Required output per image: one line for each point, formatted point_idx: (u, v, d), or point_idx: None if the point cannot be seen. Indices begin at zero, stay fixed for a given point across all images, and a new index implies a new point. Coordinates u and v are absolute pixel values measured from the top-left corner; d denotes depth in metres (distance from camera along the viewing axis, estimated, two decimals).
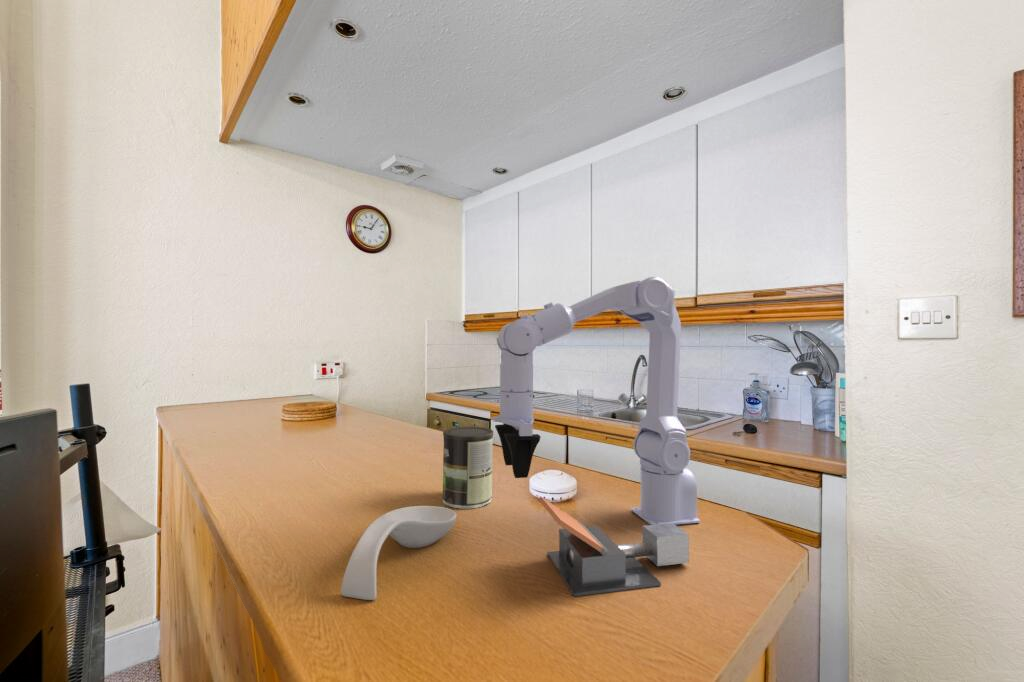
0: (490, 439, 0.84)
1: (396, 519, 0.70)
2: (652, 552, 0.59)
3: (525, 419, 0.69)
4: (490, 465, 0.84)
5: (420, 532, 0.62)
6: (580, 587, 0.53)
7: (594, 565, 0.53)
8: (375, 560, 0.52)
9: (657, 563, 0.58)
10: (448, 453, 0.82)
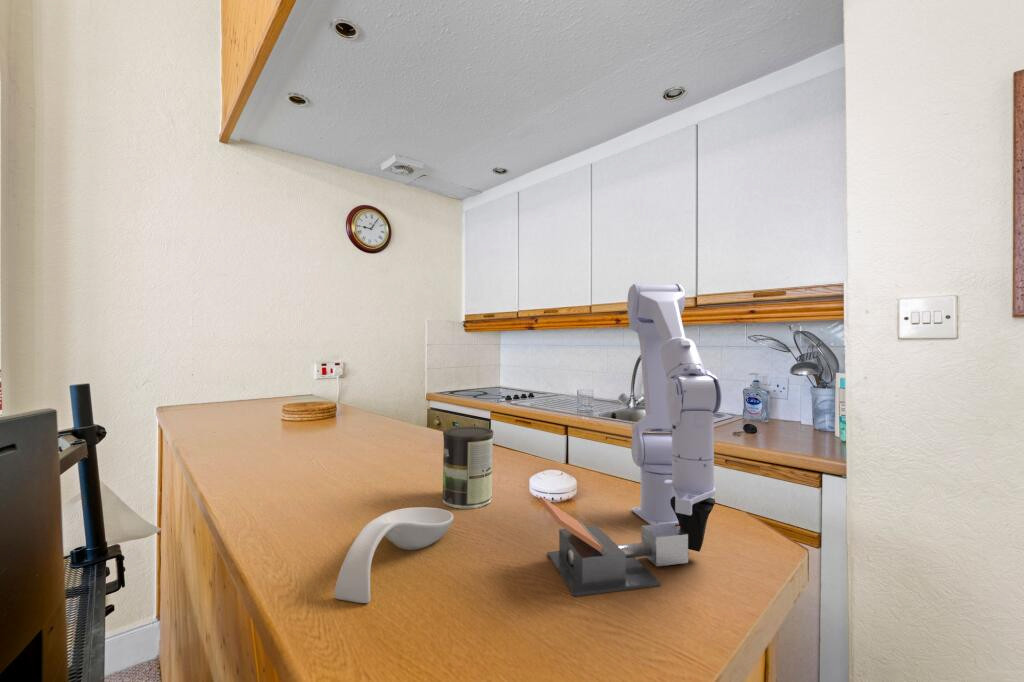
0: (490, 439, 0.84)
1: (393, 520, 0.69)
2: (651, 552, 0.59)
3: (696, 492, 0.59)
4: (490, 465, 0.84)
5: (416, 534, 0.61)
6: (580, 587, 0.53)
7: (594, 565, 0.53)
8: (369, 563, 0.51)
9: (656, 563, 0.58)
10: (448, 453, 0.82)
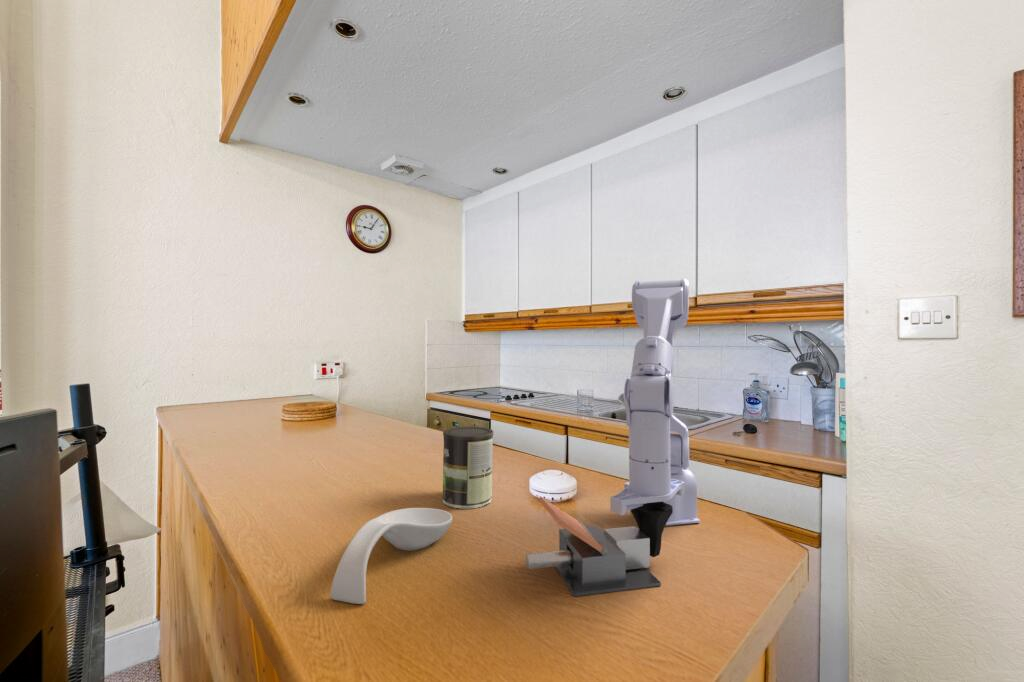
0: (490, 439, 0.84)
1: (392, 521, 0.69)
2: None
3: (642, 494, 0.58)
4: (490, 465, 0.84)
5: (414, 535, 0.61)
6: (580, 587, 0.53)
7: (594, 565, 0.53)
8: (365, 563, 0.51)
9: None
10: (448, 453, 0.82)
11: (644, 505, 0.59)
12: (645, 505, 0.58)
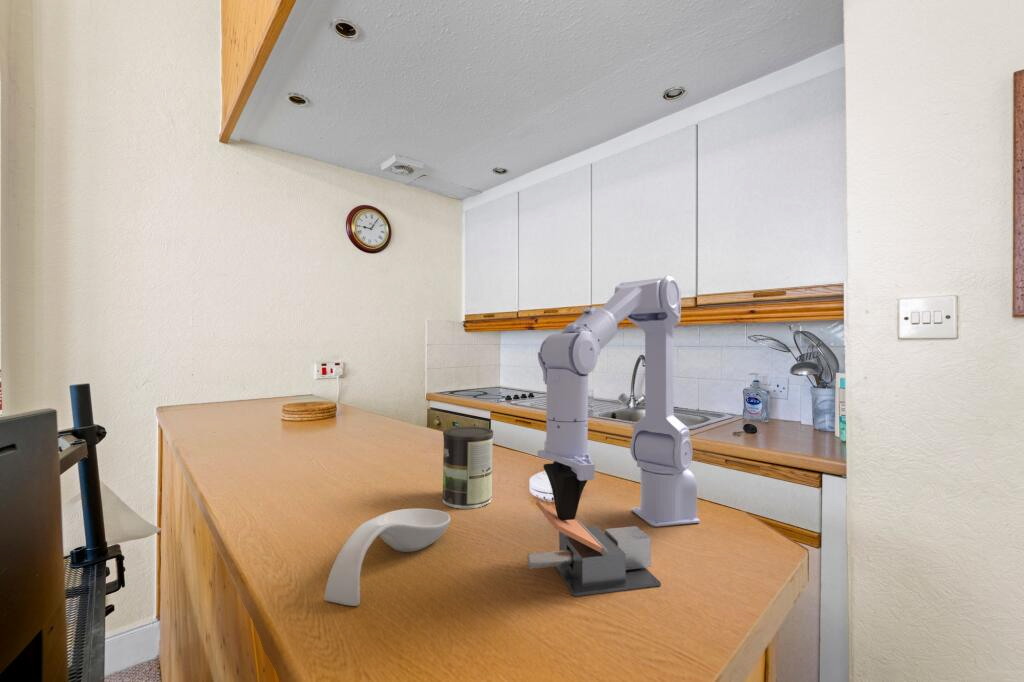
0: (490, 439, 0.84)
1: (390, 522, 0.68)
2: None
3: (580, 455, 0.55)
4: (490, 465, 0.84)
5: (411, 536, 0.60)
6: (580, 587, 0.53)
7: (594, 565, 0.53)
8: (359, 565, 0.50)
9: None
10: (448, 453, 0.82)
11: None
12: None
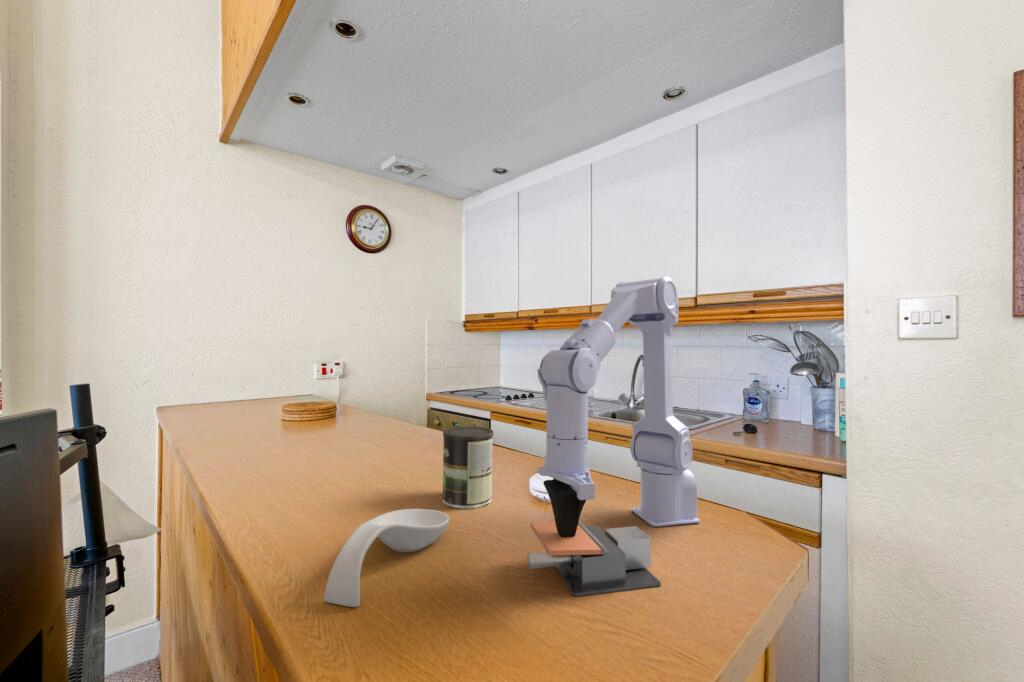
0: (490, 439, 0.84)
1: (388, 522, 0.68)
2: None
3: (580, 473, 0.55)
4: (490, 465, 0.84)
5: (410, 537, 0.60)
6: (580, 587, 0.53)
7: (594, 565, 0.53)
8: (359, 566, 0.50)
9: None
10: (448, 453, 0.82)
11: None
12: None
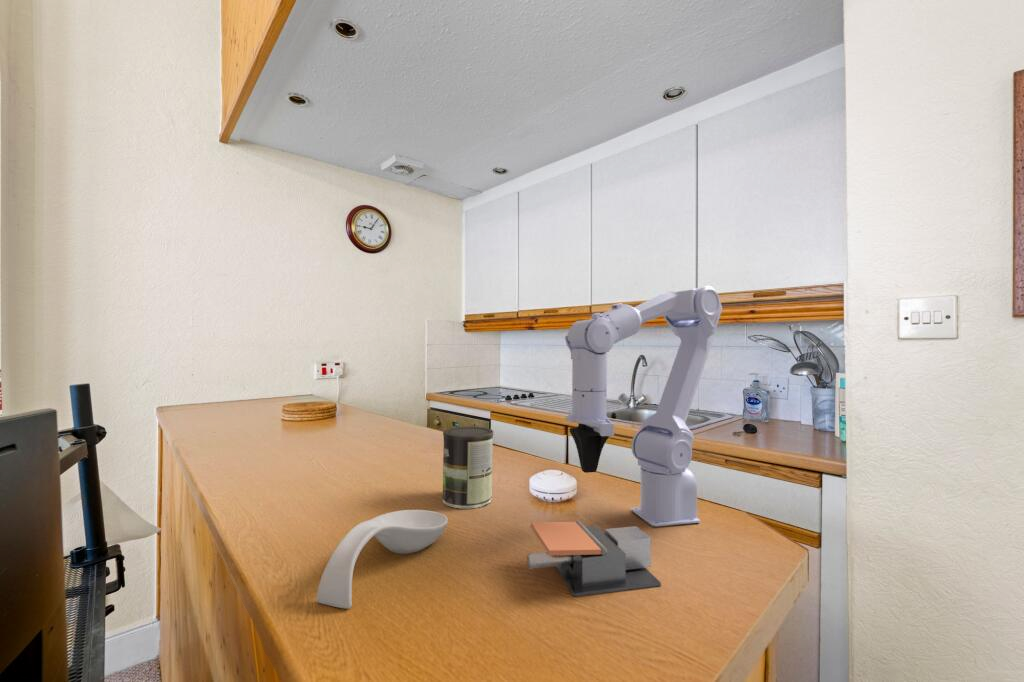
0: (490, 439, 0.84)
1: (387, 523, 0.68)
2: None
3: (601, 419, 0.68)
4: (490, 465, 0.84)
5: (406, 538, 0.60)
6: (580, 587, 0.53)
7: (594, 565, 0.53)
8: (351, 567, 0.50)
9: None
10: (448, 453, 0.82)
11: None
12: None
